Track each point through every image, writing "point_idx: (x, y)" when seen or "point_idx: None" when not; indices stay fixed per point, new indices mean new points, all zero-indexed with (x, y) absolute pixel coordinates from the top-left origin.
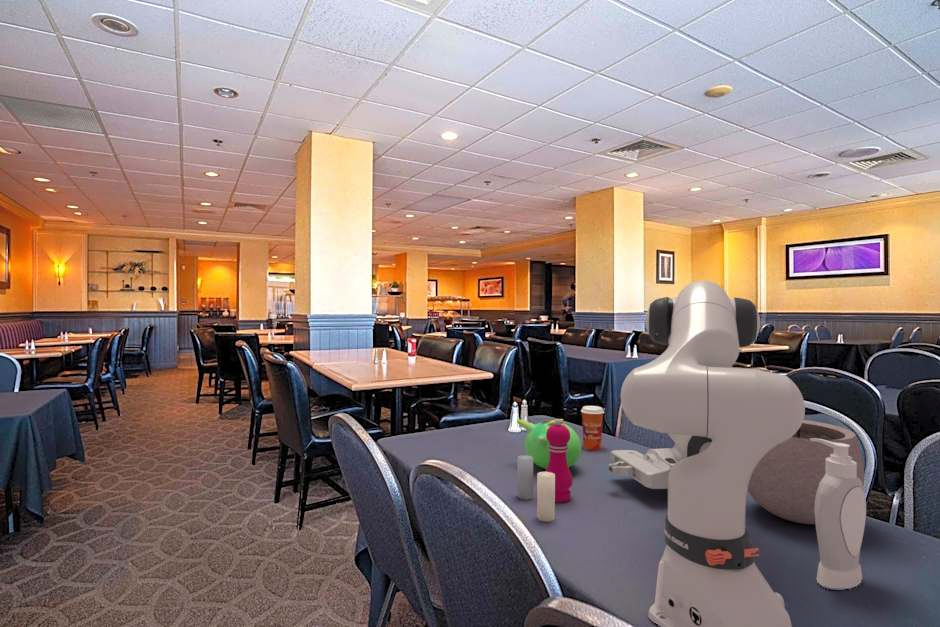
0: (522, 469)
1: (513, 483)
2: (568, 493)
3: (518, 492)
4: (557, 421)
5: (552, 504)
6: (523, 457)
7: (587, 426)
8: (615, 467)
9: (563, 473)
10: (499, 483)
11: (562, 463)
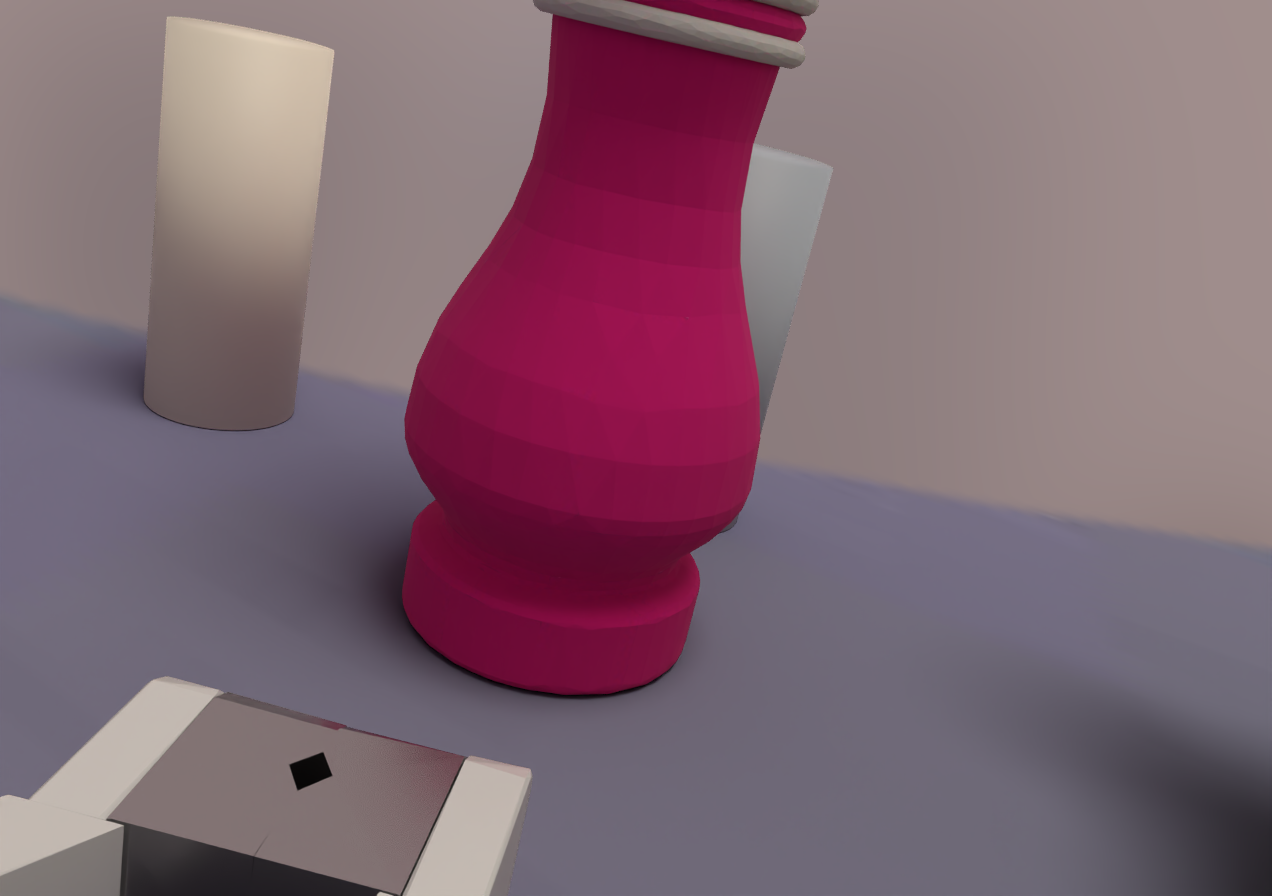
0: None
1: (1000, 580)
2: (431, 555)
3: None
4: None
5: (152, 265)
6: (764, 150)
7: None
8: (139, 698)
9: (468, 277)
10: (999, 533)
11: (528, 174)
